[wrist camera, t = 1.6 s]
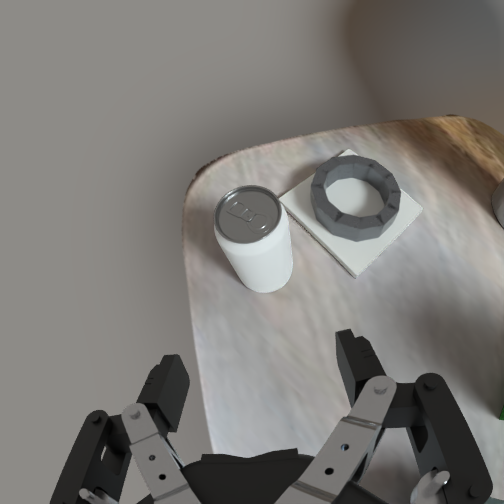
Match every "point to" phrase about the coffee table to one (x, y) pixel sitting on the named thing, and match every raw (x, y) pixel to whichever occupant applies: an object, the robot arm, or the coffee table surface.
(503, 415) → the hardback book
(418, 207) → the socket plate
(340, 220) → the collar
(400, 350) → the coffee table surface
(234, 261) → the can
